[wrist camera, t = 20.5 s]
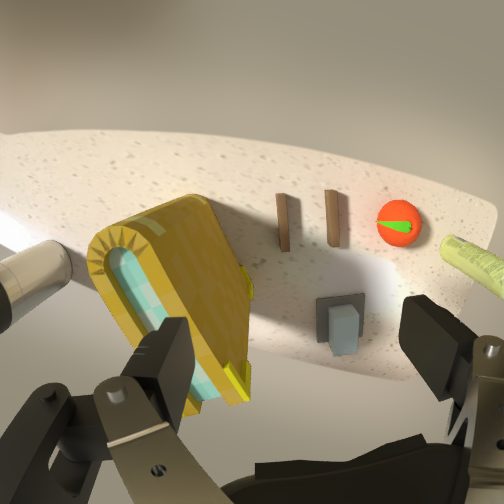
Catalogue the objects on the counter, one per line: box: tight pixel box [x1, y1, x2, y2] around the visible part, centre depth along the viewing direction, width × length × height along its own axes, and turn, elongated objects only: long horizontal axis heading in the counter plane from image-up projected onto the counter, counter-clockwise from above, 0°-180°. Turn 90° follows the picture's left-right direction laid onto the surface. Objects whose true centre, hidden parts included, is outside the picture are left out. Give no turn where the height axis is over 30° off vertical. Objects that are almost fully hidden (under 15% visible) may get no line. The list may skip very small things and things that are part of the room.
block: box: [328, 304, 359, 356], centre depth 45 cm, size 4×7×4 cm, turn 7°
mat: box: [317, 293, 365, 343], centre depth 47 cm, size 8×8×1 cm
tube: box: [440, 235, 504, 300], centre depth 35 cm, size 6×5×20 cm
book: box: [86, 194, 254, 417], centre depth 33 cm, size 17×7×25 cm, turn 25°
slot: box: [276, 190, 339, 252], centre depth 42 cm, size 8×8×2 cm
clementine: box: [376, 200, 422, 247], centre depth 40 cm, size 8×7×7 cm
